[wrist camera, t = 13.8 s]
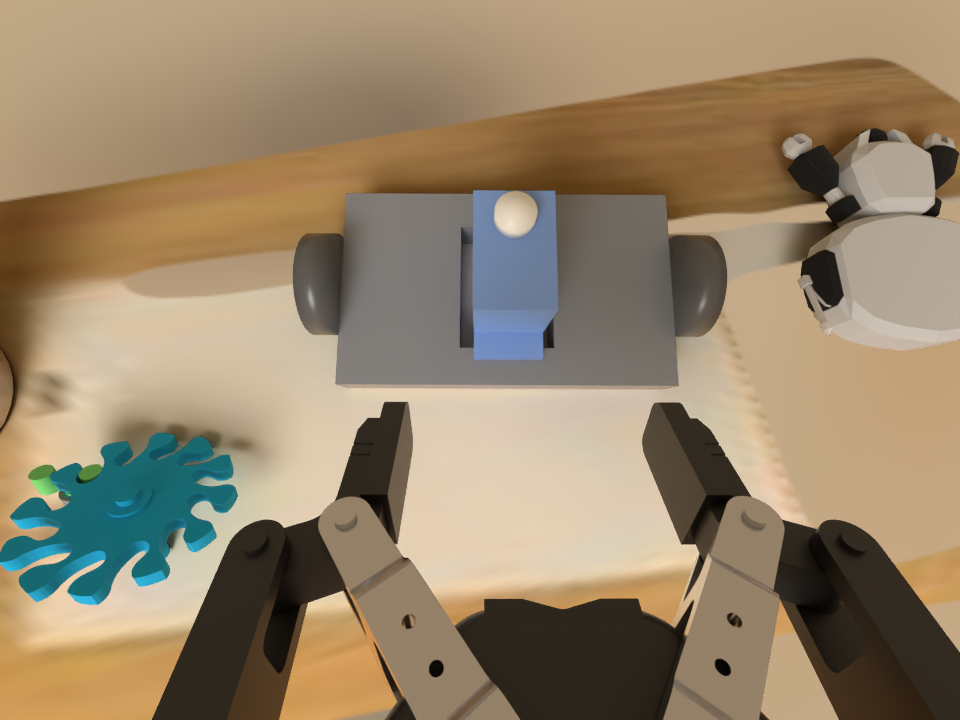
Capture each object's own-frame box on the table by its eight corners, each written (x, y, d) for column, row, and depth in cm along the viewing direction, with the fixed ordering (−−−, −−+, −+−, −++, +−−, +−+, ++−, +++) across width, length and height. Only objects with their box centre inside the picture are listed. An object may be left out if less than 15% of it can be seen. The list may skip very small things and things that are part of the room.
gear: (273, 458, 26) (102, 630, 18) (285, 516, 29) (147, 681, 21) (127, 401, 28) (-84, 530, 20) (155, 461, 31) (-15, 592, 23)
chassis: (681, 390, 28) (736, 380, 22) (326, 388, 28) (284, 378, 22) (669, 218, 30) (717, 166, 24) (336, 216, 30) (301, 163, 24)
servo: (536, 366, 28) (562, 337, 19) (474, 365, 28) (472, 337, 19) (533, 234, 29) (557, 152, 20) (474, 234, 29) (473, 151, 20)
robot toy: (748, 161, 32) (782, 358, 28) (791, 112, 27) (838, 339, 24) (913, 161, 32) (968, 357, 28) (983, 112, 27) (1059, 338, 24)
